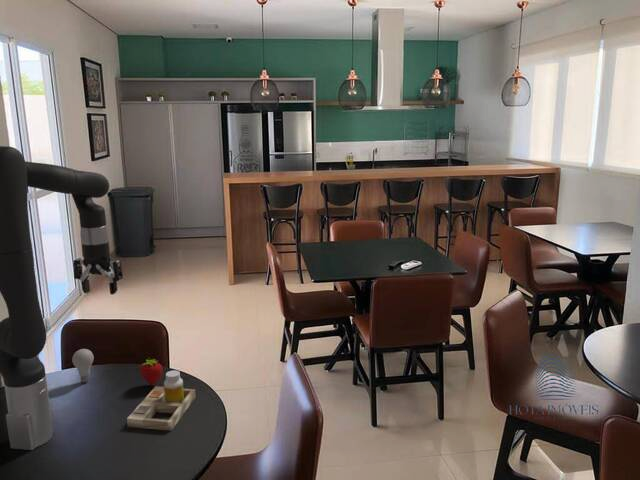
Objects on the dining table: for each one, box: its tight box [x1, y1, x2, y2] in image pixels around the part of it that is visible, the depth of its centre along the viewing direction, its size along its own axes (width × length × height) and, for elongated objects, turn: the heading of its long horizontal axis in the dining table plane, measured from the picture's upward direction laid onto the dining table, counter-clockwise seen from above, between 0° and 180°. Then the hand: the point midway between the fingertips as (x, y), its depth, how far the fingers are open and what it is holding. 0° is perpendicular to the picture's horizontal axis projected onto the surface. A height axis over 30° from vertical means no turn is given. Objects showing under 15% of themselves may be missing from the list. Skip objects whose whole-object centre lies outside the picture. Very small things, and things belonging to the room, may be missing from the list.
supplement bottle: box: [163, 369, 185, 403], centre depth 151 cm, size 5×5×10 cm
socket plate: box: [126, 385, 197, 432], centre depth 148 cm, size 18×12×3 cm
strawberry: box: [139, 358, 164, 387], centre depth 161 cm, size 6×8×10 cm
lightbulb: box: [71, 348, 95, 383], centre depth 164 cm, size 6×6×11 cm
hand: (100, 293), depth 157 cm, fingers open, 8 cm apart
